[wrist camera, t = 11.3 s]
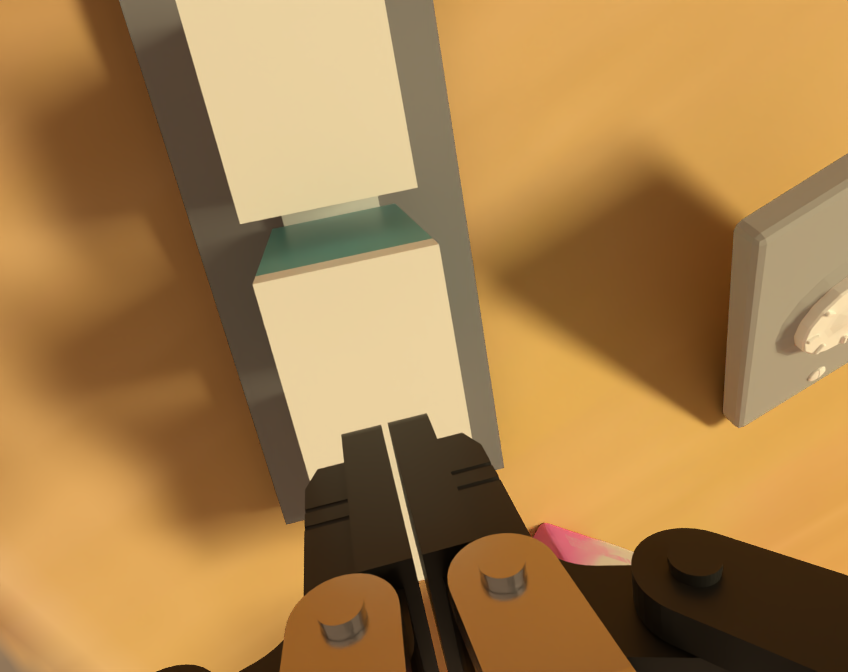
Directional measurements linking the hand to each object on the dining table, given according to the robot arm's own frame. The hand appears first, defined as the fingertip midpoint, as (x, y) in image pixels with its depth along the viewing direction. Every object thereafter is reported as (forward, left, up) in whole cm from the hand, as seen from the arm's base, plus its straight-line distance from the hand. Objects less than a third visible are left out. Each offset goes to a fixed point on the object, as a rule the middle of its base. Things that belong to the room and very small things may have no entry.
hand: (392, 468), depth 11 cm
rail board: (-1, 0, -15) cm, 15 cm away
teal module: (0, 0, -13) cm, 13 cm away
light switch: (+4, +19, -15) cm, 25 cm away
